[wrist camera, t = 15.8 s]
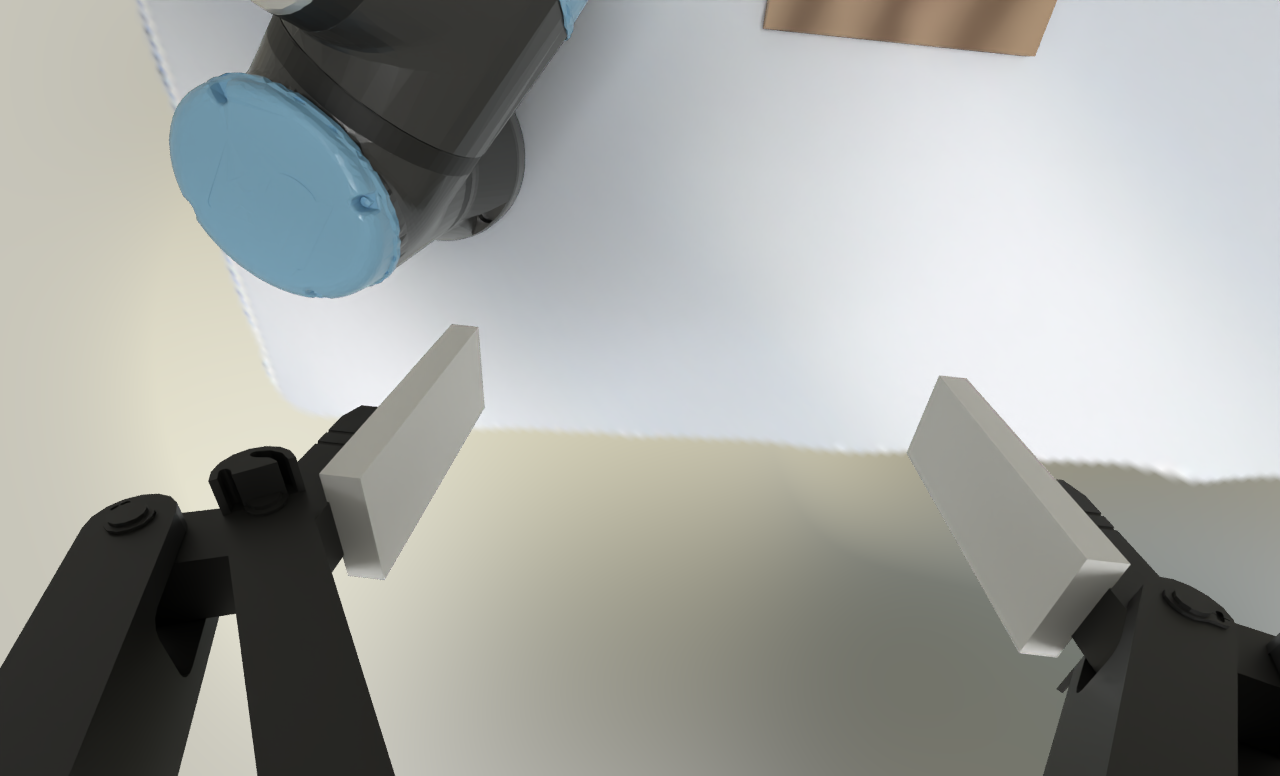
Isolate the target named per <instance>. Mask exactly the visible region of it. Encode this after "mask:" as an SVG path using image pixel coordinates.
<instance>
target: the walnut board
mask: <svg viewBox="0 0 1280 776" xmlns="http://www.w3.org/2000/svg"><path fill="white" fill-rule="evenodd" d="M1056 2H1057V0H767V6H766V12H765V18H764V24H763V29H770V30H780V31H789V32H799V33H808V34H818V35H827V36H837V37H847V38H856V39H866V40H875V41H885V42H894V43H904V44H914V45H923V46H933V47H942V48H952V49H961V50H971V51H981V52H990V53H1000V54H1009V55H1019V56H1035V55H1036V52H1037V50H1038V47H1039V45H1040V42H1041V40H1042V37H1043V34H1044V32H1045V29H1046V27H1047V24H1048V22H1049V19H1050V17H1051V14H1052V12H1053V9H1054V7H1055V4H1056Z"/></svg>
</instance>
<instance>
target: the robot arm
mask: <svg viewBox="0 0 1280 776" xmlns="http://www.w3.org/2000/svg"><path fill="white" fill-rule="evenodd" d="M251 1H252V2H254V3H255V4H256V5H258V6H259V7H261V8H262V9H264V10H265V11H267V12H269V13H271V14H273V16H272V19H271V21H270V23H269V26H268V28H267V30H266V32H265V35H264V37H263V39H262V41H261V44H260V46H259V48H258V51H257V53H256V55H255V57H254V60H253V62H252V64H251V67H250V69H249V70H248V72H247V73H246V74H245V73H225V74H223V75H221V76H219V77H213V78H211V79H210V80H208V81H207V82H206V83H203V84H201V85H199V86H197V87H196V88H195V89H193V90H192V91H190V92H189V93H188V94H187V95H186V96H185V97H184V98H183V99H182V100H181V102H180V103H179V105H178V106H177V108H176V110H175V113H174V115H173V118H172V123H171V128H170V136H169V137H170V138H169V145H170V156H171V161H172V167H173V170H174V174H175V177H176V180H177V183H178V185H179V188H180V190H181V192H182V194H183V196H184V197H185V198H186V199H187V200H188V201H189V202H190V204H191V205H192V207H193V208H194V211H195V214H196V216H197V221H198V222H199V223H200V224H201V226H202V227H203V229H204V230H205V231H206V232H207V234H208V235H209V236H210V237H211V238H212V240H213V241H214V242H215V243H216V244H217V245H218V246H219V247H220V248H221V249H222V250H223V251H224V252H225V253H226V254H227V255H228V256H229V257H231V258H232V259H233V260H234V261H235V262H236V263H238V264H239V265H240V266H242V267H243V268H244V269H246V270H247V271H249V272H250V273H252V274H253V275H254V276H256V277H258V278H259V279H261V280H263V281H265V282H267V283H269V284H270V285H273V286H275V287H277V288H279V289H282V290H284V291H287V292H290V293H293V294H297V295H300V296H305V297H311V298H314V297H319V298H323V297H327V298H339V297H344V296H348V295H351V294H354V293H356V292H358V291H360V290H362V289H364V288H366V287H368V286H373V285H375V284H379V283H381V282H382V281H383V280H384V279H385V278H387V277H389V276H390V275H391V274H392V272H393V271H394V270H395V268H397V267H398V266H399V265H401V264H402V263H404V262H405V261H406V260H408V259H409V258H411V257H412V256H413V255H415V254H416V253H418V252H419V251H420V250H422V249H423V248H424V247H426V246H427V245H429V244H430V243H431V242H433V241H434V240H441V241H452V240H460V239H465V238H468V237H471V236H474V235H477V234H479V233H481V232H483V231H485V230H486V229H488V228H489V227H491V226H492V225H493V224H494V223H496V222H497V221H498V220H499V219H500V218H501V217H502V216H503V215H504V214H505V213H506V212H507V211H508V210H509V208H510V207H511V206H512V204H513V203H514V201H515V199H516V197H517V195H518V193H519V190H520V187H521V184H522V180H523V175H524V168H525V150H524V142H523V137H522V133H521V129H520V126H519V123H518V120H517V117H516V115H515V113H514V111H515V110H516V109H517V107H518V106H519V104H520V103H521V101H522V100H523V99H524V97H525V96H526V94H527V93H528V91H529V90H530V89H531V87H532V86H533V84H534V83H535V82H536V80H537V79H538V77H539V76H540V74H541V73H542V72H543V70H544V69H545V67H546V66H547V64H548V63H549V62H550V60H551V59H552V57H553V56H554V54H555V53H556V52H557V50H558V49H559V47H560V46H561V45H562V43H563V42H564V41H567V40H568V39H569V38H570V37H571V33H572V32H573V28H574V23H575V21H576V19H577V18H578V16H579V15H580V13H581V11H582V10H583V8H584V6H585V5H586V3H587V2H588V0H251ZM484 408H485V406H484V394H483V381H482V368H481V355H480V342H479V330H478V327H473V326H464V325H454V324H452V325H451V326H450V327H449V328H448V329H447V330H446V331H445V333H444V334H443V335H442V336H441V337H440V338H439V339H438V340H437V342H436V343H435V344H434V345H433V346H432V347H431V348H430V349H429V351H428V352H427V353H426V354H425V355H424V356H423V357H422V358H421V360H420V361H419V362H418V363H417V364H416V365H415V366H414V367H413V369H412V370H411V371H410V372H409V373H408V374H407V375H406V376H405V378H404V379H403V380H402V381H401V382H400V383H399V384H398V385H397V387H396V388H395V389H394V390H393V391H392V392H391V393H390V394H389V396H388V397H387V398H386V399H385V400H384V401H383V402H382V403H381V405H380V406H379V407H372V406H363V405H361V406H360V407H358V408H356V409H354V410H352V411H351V412H349V413H347V414H345V415H343V416H342V417H341V418H340V419H339V420H338V421H337V422H336V423H335V424H334V425H333V426H332V427H331V428H330V429H329V432H328V433H325V434H324V435H323V436H322V437H321V438H320V439H319V440H318V444H315V445H314V446H313V447H312V448H311V449H310V450H309V451H308V452H307V453H306V454H305V455H304V456H303V457H302V458H301V459H300V460H299V461H298V462H297V460H296V457H295V456H294V454H293V453H292V452H291V451H290V450H287V449H285V448H282V447H271V446H264V447H259V448H253V449H248V450H246V451H242V452H240V453H237V454H234V455H232V456H230V457H229V458H227V459H225V460H224V461H222V462H220V463H219V464H218V465H217V466H216V467H215V468H214V469H213V471H211V474H210V477H209V484H210V486H211V489H212V491H213V493H214V496H215V498H216V500H217V503H218V505H219V507H220V509H212V510H204V511H196V512H187V513H182V512H181V510H180V508H179V506H178V504H177V502H176V501H174V499H173V498H172V497H171V496H166V495H162V494H147V495H140V496H136V497H132V498H128V499H124V500H122V501H119V502H117V503H115V504H113V505H110V506H108V507H106V508H105V509H103V510H101V511H100V512H98V513H97V514H96V515H94V516H92V517H91V518H90V520H89V521H88V522H87V523H86V524H85V525H84V526H83V527H82V529H81V530H80V532H79V534H78V536H77V538H76V539H75V541H74V543H73V544H72V546H71V548H70V550H69V551H68V553H67V555H66V556H65V558H64V560H63V561H62V563H61V565H60V567H59V568H58V570H57V572H56V574H55V575H54V577H53V579H52V580H51V582H50V584H49V586H48V587H47V589H46V591H45V592H44V594H43V596H42V597H41V599H40V601H39V603H38V604H37V606H36V608H35V609H34V611H33V613H32V615H31V616H30V618H29V620H28V622H27V623H26V625H25V627H24V628H23V630H22V632H21V634H20V635H19V637H18V639H17V640H16V642H15V644H14V646H13V647H12V649H11V651H10V652H9V654H8V656H7V658H6V660H5V661H4V663H3V664H2V666H1V668H0V776H178V773H179V769H180V765H181V761H182V757H183V753H184V750H185V746H186V742H187V738H188V734H189V730H190V726H191V723H192V719H193V715H194V711H195V707H196V704H197V700H198V696H199V692H200V688H201V684H202V680H203V677H204V673H205V669H206V665H207V661H208V657H209V653H210V650H211V646H212V642H213V638H214V634H215V630H216V627H217V623H218V618H219V616H224V615H229V614H236V617H237V624H238V632H239V639H240V647H241V654H242V662H243V669H244V677H245V685H246V692H247V700H248V707H249V715H250V722H251V729H252V738H253V745H254V753H255V760H256V768H257V776H395V774H394V771H393V768H392V764H391V761H390V758H389V755H388V752H387V748H386V745H385V742H384V739H383V736H382V732H381V729H380V726H379V723H378V720H377V716H376V713H375V710H374V707H373V704H372V700H371V697H370V694H369V691H368V687H367V684H366V681H365V678H364V675H363V672H362V668H361V665H360V662H359V659H358V655H357V652H356V649H355V646H354V643H353V640H352V636H351V633H350V630H349V627H348V624H347V620H346V617H345V614H344V611H343V607H342V604H341V601H340V598H339V595H338V592H337V588H336V585H335V582H334V578H333V575H332V572H333V570H334V569H335V567H336V566H337V564H338V563H339V561H340V560H341V559H342V557H343V559H344V563H345V566H346V569H347V573H348V576H354V577H363V578H371V579H380V580H385V578H386V576H387V575H388V573H389V571H390V570H391V568H392V566H393V564H394V563H395V561H396V559H397V557H398V556H399V554H400V552H401V551H402V549H403V547H404V545H405V543H406V542H407V540H408V538H409V537H410V535H411V533H412V532H413V530H414V528H415V526H416V525H417V523H418V521H419V519H420V518H421V516H422V514H423V513H424V511H425V509H426V507H427V506H428V504H429V502H430V501H431V499H432V497H433V495H434V494H435V492H436V490H437V489H438V487H439V485H440V483H441V482H442V480H443V478H444V476H445V475H446V473H447V471H448V469H449V468H450V466H451V464H452V463H453V461H454V459H455V458H456V456H457V454H458V452H459V451H460V449H461V447H462V445H463V444H464V442H465V440H466V439H467V437H468V435H469V433H470V432H471V430H472V428H473V427H474V425H475V423H476V421H477V420H478V418H479V416H480V414H481V413H482V411H483V409H484ZM907 455H908V456H909V458H910V460H911V462H912V464H913V465H914V467H915V469H916V470H917V472H918V474H919V476H920V478H921V480H922V481H923V483H924V485H925V487H926V488H927V490H928V492H929V494H930V496H931V497H932V499H933V501H934V502H935V504H936V506H937V508H938V510H939V511H940V513H941V515H942V517H943V519H944V520H945V522H946V524H947V525H948V527H949V529H950V531H951V533H952V535H953V536H954V538H955V540H956V542H957V543H958V545H959V547H960V549H961V551H962V552H963V554H964V556H965V558H966V559H967V561H968V563H969V565H970V567H971V568H972V570H973V572H974V574H975V575H976V577H977V579H978V581H979V583H980V584H981V586H982V588H983V590H984V591H985V593H986V595H987V597H988V598H989V600H990V602H991V604H992V606H993V607H994V609H995V611H996V613H997V614H998V616H999V618H1000V620H1001V621H1002V623H1003V625H1004V627H1005V629H1006V630H1007V632H1008V634H1009V636H1010V637H1011V639H1012V641H1013V643H1014V645H1015V646H1016V648H1017V650H1018V652H1019V653H1024V654H1033V655H1041V656H1050V657H1058V655H1059V654H1060V653H1061V652H1062V650H1063V649H1064V648H1065V647H1066V645H1067V644H1068V643H1069V642H1070V640H1071V639H1072V638H1073V639H1074V641H1075V642H1076V644H1077V645H1078V647H1079V648H1080V650H1081V651H1082V653H1083V654H1084V656H1083V658H1082V659H1081V660H1080V661H1079V662H1078V664H1077V665H1076V666H1075V667H1074V668H1073V670H1072V671H1071V672H1070V673H1069V674H1068V676H1067V677H1066V678H1065V679H1064V681H1063V682H1062V683H1061V684H1060V685H1059V687H1058V688H1057V690H1059V691H1060V692H1062V693H1063V692H1064V691H1065V690H1066V689H1067V688H1068V687H1069V688H1068V692H1067V695H1066V698H1065V702H1064V705H1063V709H1062V712H1061V716H1060V719H1059V723H1058V726H1057V730H1056V733H1055V736H1054V740H1053V743H1052V747H1051V750H1050V753H1049V757H1048V760H1047V764H1046V767H1045V771H1044V774H1043V776H1280V633H1279V634H1278V635H1277V636H1273V635H1270V634H1267V633H1264V632H1261V631H1258V630H1255V629H1252V628H1249V627H1245V626H1242V625H1239V624H1236V623H1234V620H1233V619H1232V618H1231V617H1230V615H1229V614H1228V613H1227V612H1226V611H1225V609H1224V608H1223V607H1221V606H1220V605H1219V604H1217V603H1216V602H1215V601H1214V600H1212V599H1211V598H1210V597H1209V596H1207V595H1205V594H1204V593H1202V592H1200V591H1198V590H1197V589H1195V588H1193V587H1191V586H1189V585H1186V584H1184V583H1181V582H1179V581H1176V580H1174V579H1168V578H1163V577H1159V576H1158V574H1157V573H1155V571H1154V570H1153V569H1152V568H1151V567H1150V566H1149V565H1148V564H1147V562H1146V561H1145V560H1144V559H1143V558H1142V557H1141V556H1140V555H1139V554H1138V553H1137V552H1136V551H1135V549H1134V548H1133V547H1132V546H1131V545H1130V544H1129V543H1128V542H1127V541H1126V540H1125V539H1124V537H1123V536H1122V535H1121V534H1120V533H1119V532H1118V531H1116V530H1114V529H1113V528H1114V527H1113V525H1112V524H1111V523H1110V522H1109V521H1108V520H1107V519H1106V518H1105V517H1104V516H1101V512H1100V511H1099V510H1098V509H1097V508H1096V507H1095V506H1094V505H1093V504H1092V503H1091V502H1090V500H1089V499H1088V498H1087V497H1086V496H1085V495H1083V494H1082V493H1080V492H1079V491H1078V490H1076V489H1075V488H1073V487H1072V486H1071V485H1069V484H1068V483H1066V482H1065V481H1063V480H1057V479H1055V478H1054V477H1053V476H1052V475H1051V473H1049V471H1048V470H1047V469H1046V468H1045V467H1044V466H1043V464H1042V463H1041V462H1040V461H1039V460H1038V459H1037V458H1036V456H1035V455H1034V454H1033V453H1032V452H1031V451H1030V450H1029V449H1028V447H1027V446H1026V445H1025V444H1024V443H1023V442H1022V441H1021V440H1020V438H1019V437H1018V436H1017V435H1016V434H1015V433H1014V432H1013V430H1012V429H1011V428H1010V427H1009V426H1008V425H1007V424H1006V423H1005V421H1004V420H1003V419H1002V418H1001V417H1000V416H999V415H998V414H997V412H996V411H995V410H994V409H993V408H992V407H991V406H990V404H989V403H988V402H987V401H986V400H985V399H984V398H983V397H982V395H981V394H980V393H979V392H978V391H977V390H976V389H975V388H974V386H973V385H972V384H971V383H970V382H969V381H968V380H967V378H957V377H948V376H939V377H938V380H937V382H936V384H935V387H934V389H933V391H932V394H931V396H930V399H929V401H928V403H927V406H926V408H925V411H924V413H923V415H922V418H921V420H920V422H919V425H918V427H917V430H916V432H915V434H914V437H913V439H912V442H911V444H910V446H909V449H908V451H907Z"/></svg>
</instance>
